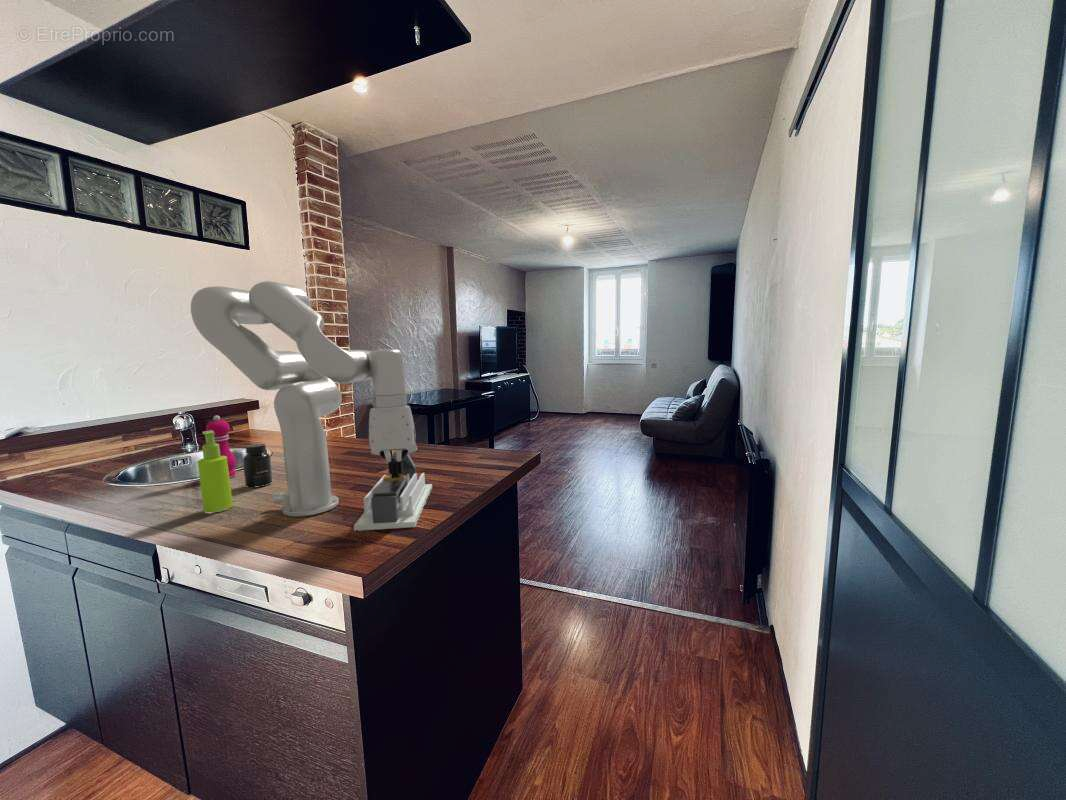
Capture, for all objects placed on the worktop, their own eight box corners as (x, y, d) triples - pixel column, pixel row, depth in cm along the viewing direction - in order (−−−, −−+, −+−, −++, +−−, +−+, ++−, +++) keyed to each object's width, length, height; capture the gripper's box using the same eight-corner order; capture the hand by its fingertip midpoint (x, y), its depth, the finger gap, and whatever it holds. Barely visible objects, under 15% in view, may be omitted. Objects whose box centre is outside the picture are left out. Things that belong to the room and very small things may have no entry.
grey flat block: (373, 497, 94) (372, 490, 93) (384, 482, 103) (384, 476, 103) (396, 496, 94) (396, 489, 94) (405, 481, 104) (405, 474, 104)
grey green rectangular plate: (386, 456, 106) (387, 450, 107) (396, 469, 115) (396, 463, 116) (407, 455, 107) (407, 449, 107) (414, 468, 115) (415, 462, 116)
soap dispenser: (229, 502, 112) (220, 428, 109) (235, 508, 107) (225, 431, 105) (202, 508, 108) (191, 431, 105) (206, 515, 103) (195, 435, 100)
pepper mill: (223, 481, 131) (215, 417, 128) (203, 480, 132) (195, 417, 129) (243, 474, 138) (236, 413, 135) (224, 473, 139) (217, 413, 136)
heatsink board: (354, 530, 92) (351, 500, 91) (384, 490, 118) (383, 466, 117) (415, 527, 93) (413, 496, 92) (432, 488, 119) (430, 464, 118)
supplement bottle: (263, 488, 123) (258, 448, 121) (240, 488, 123) (235, 448, 121) (277, 480, 130) (273, 442, 128) (255, 481, 130) (251, 443, 128)
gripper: (352, 405, 96) (360, 483, 98) (419, 401, 97) (425, 479, 100) (362, 401, 104) (369, 474, 106) (424, 398, 105) (430, 470, 107)
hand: (396, 476), depth 103 cm, fingers closed
